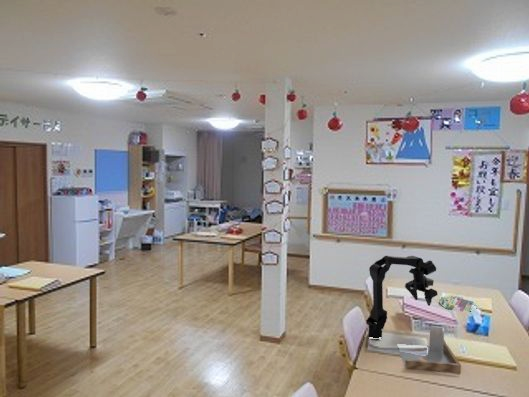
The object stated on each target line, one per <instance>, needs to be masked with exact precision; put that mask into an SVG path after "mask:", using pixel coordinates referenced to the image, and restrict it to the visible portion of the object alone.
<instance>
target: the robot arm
mask: <svg viewBox="0 0 529 397" xmlns="http://www.w3.org/2000/svg"><path fill="white" fill-rule="evenodd" d="M392 265H397V266H398V265H399V266H400V265H401V266H410V267H411V268H410V269H409V271H408V273H409V274H411V275H412V278H413V279H412V280H409V281H408V282H406V283H405V284H404V287H405V289H406V290H407V291H408V292H409V293H410V294H411V295H412V297H413V299H414V300H415V301H418V291H419V292H422V293H423V295H424V300H425V301H426V304H427V306H428V307H429V306H431V304H432V301H433V298H434V297H437V296H438V295H439V294H438V290H436V289H433V288H429V287H431V286H434V281H435V280H434V279H432V278H429V277H426V276H428V275H431V274H433V273H435V272H436V271H437V267H436V265H435V264H434V263H433V260H427V261H426V262H424V259H423V258H421V257H419V256H415V255H409V256H405V257H404V256H402V257H401V256H393V255H384V256H383V257H382V258H380V259H378V260H375V262H374V263H372V264H371V265H370V266H369V268H368V269H369V270H368V271H369V275H370V277H371V279H372V302H373V303H372V308H371V311H370V315H369V316H368V318H367V319H365V322H366V325H368V330H367V331H368V333H367V337H373V338H379V337H382V338H383V330H384V328H385V324H386V323H387V320H388V311H387V310H385V309H384V304H383V302H384V301H383V299H384V296H383V291H384V290H383V282H384V280H385V278H386V274H387V272H388V271H389V270H390V268H391V266H392ZM428 288H429V289H428Z"/></svg>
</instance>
